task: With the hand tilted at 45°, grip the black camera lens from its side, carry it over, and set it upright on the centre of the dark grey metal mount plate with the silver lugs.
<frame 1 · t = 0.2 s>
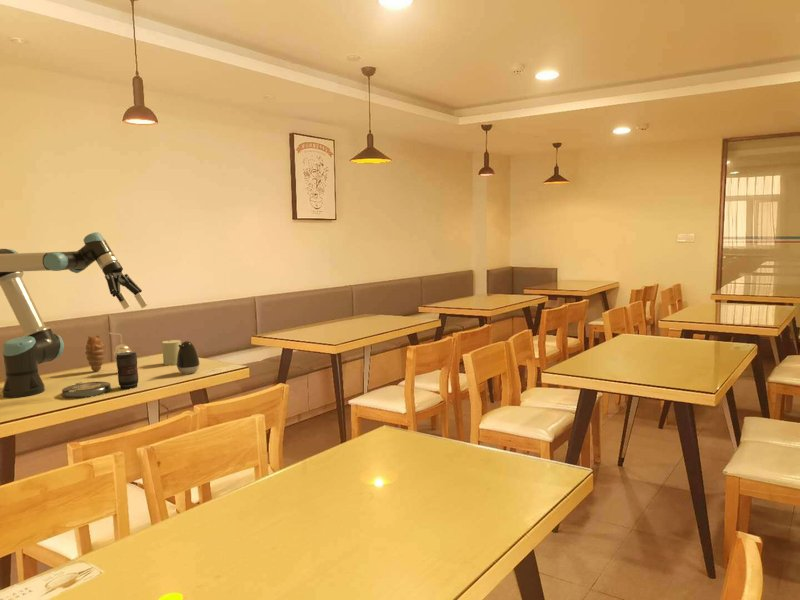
hand: (136, 307, 253), 35 cm above the table, tool tilted 30°, fingers open, 13 cm apart
camera lens: (129, 387, 256), on the table
croissant: (96, 371, 290), on the table
mount plate: (87, 392, 249), on the table
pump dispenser: (188, 373, 280), on the table
cup with straw: (123, 372, 286), on the table
pale green cup: (173, 364, 303), on the table
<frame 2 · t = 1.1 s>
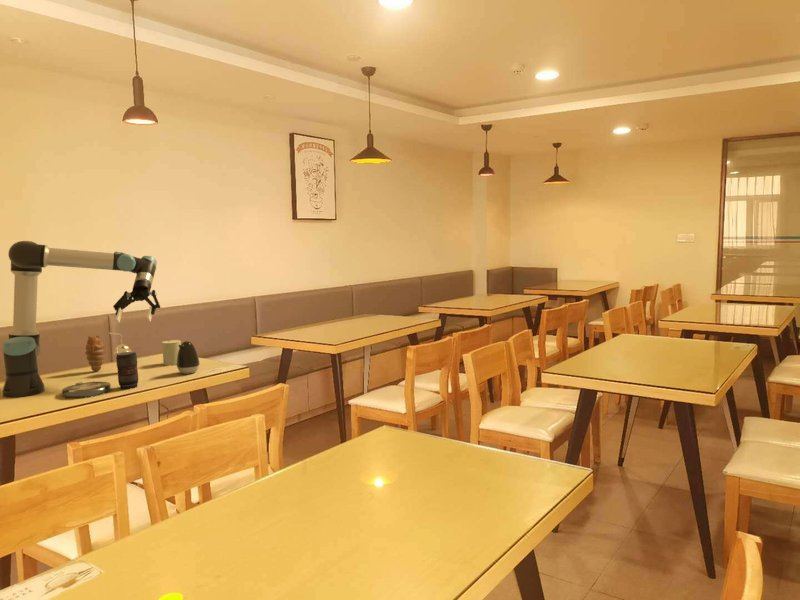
hand: (133, 320, 263), 28 cm above the table, tool tilted 45°, fingers open, 13 cm apart
nothing on the table moved.
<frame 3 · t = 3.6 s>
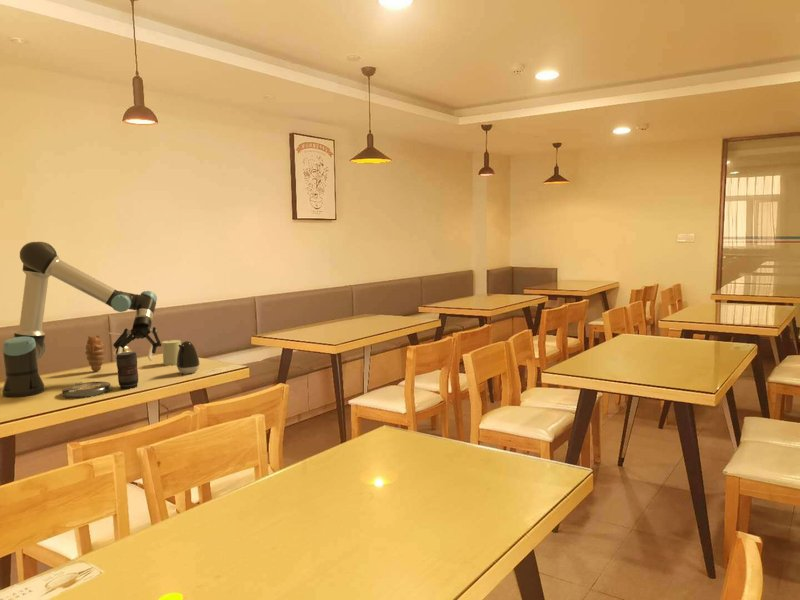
hand: (133, 359, 259), 11 cm above the table, tool tilted 45°, fingers open, 13 cm apart
nothing on the table moved.
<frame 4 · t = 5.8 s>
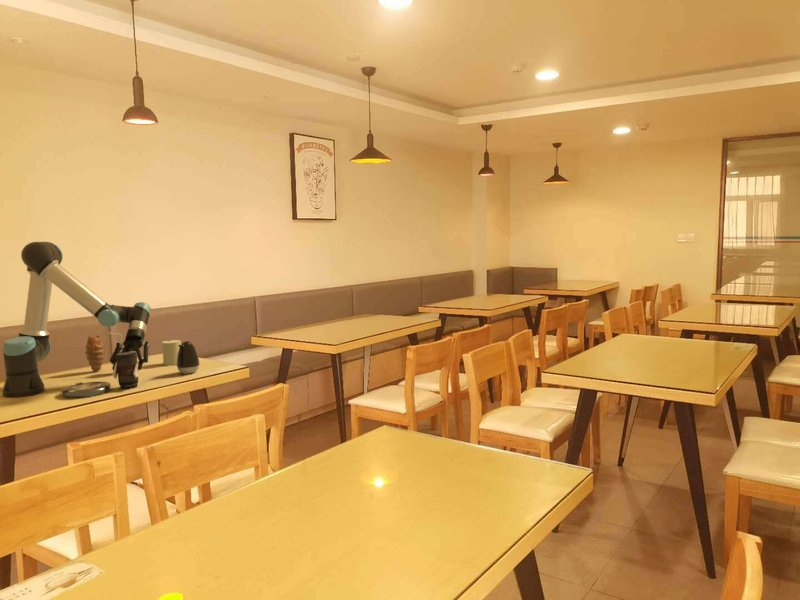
hand: (124, 376, 252), 6 cm above the table, tool tilted 45°, fingers closed on camera lens, 8 cm apart
camera lens: (129, 387, 256), on the table, touching gripper
everything else where it was.
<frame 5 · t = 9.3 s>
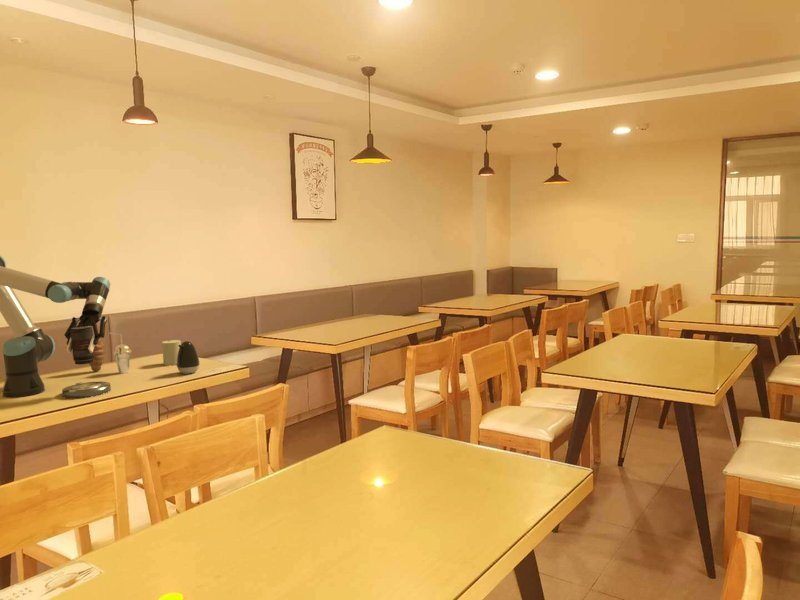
hand: (79, 351, 244), 18 cm above the table, tool tilted 45°, fingers closed on camera lens, 8 cm apart
camera lens: (84, 363, 248), point 13 cm above the table, touching gripper
everything else where it was.
when the fingers open (9 cm above the table, at t = 12.7 s): camera lens stays where it is, resting on mount plate.
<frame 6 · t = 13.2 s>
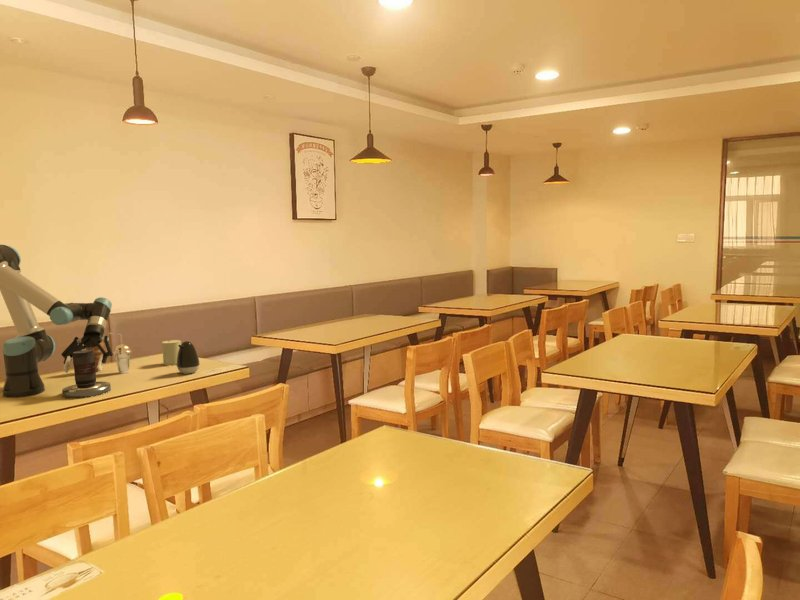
hand: (82, 370, 246), 10 cm above the table, tool tilted 45°, fingers open, 13 cm apart
camera lens: (86, 386, 249), point 3 cm above the table, touching mount plate
everything else where it was.
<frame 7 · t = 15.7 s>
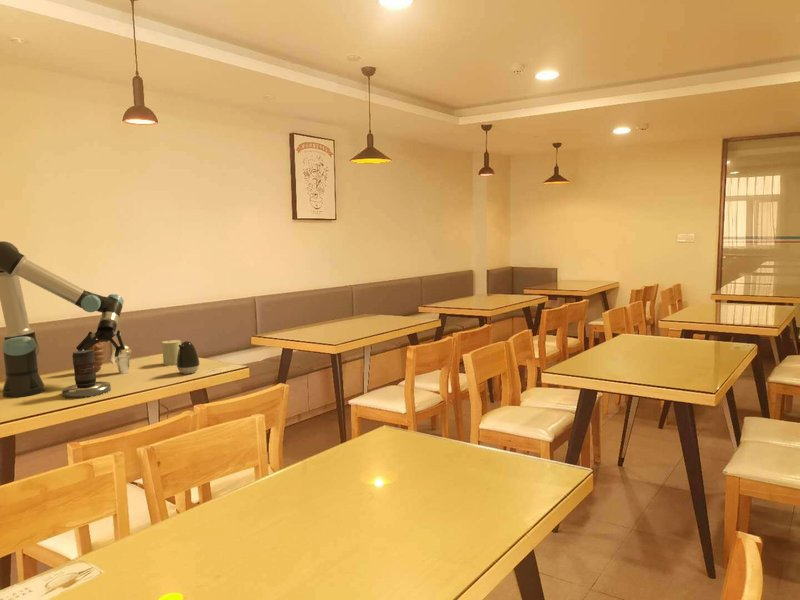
hand: (96, 363, 258), 10 cm above the table, tool tilted 45°, fingers open, 13 cm apart
nothing on the table moved.
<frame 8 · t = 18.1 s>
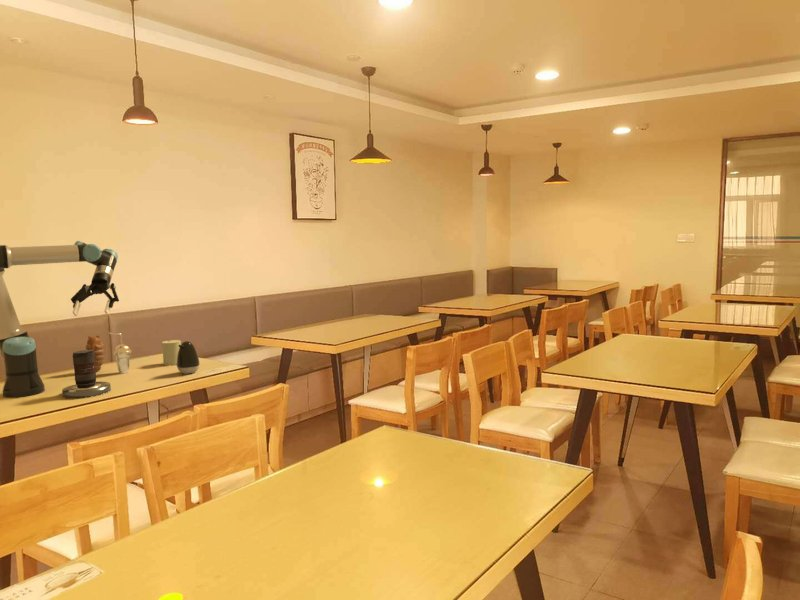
hand: (90, 313, 261), 32 cm above the table, tool tilted 45°, fingers open, 13 cm apart
nothing on the table moved.
at the end: camera lens 0.1 cm from the mount plate (horizontally); camera lens tilted 0°; camera lens touching mount plate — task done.
